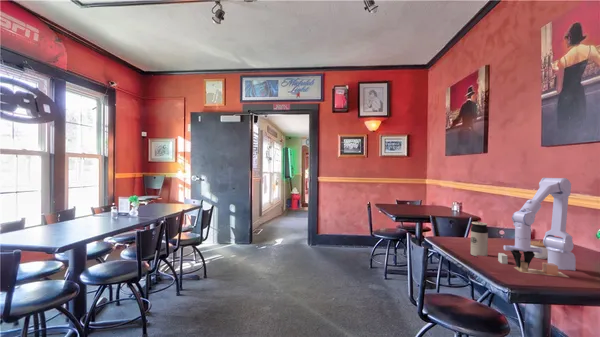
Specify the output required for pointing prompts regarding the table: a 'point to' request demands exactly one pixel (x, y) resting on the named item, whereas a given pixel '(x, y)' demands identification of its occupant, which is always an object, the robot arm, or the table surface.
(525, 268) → the birch strip
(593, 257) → the table surface
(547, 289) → the table surface
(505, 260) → the white block
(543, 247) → the lidded jar
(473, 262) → the table surface
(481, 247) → the travel mug
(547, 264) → the terracotta cube
